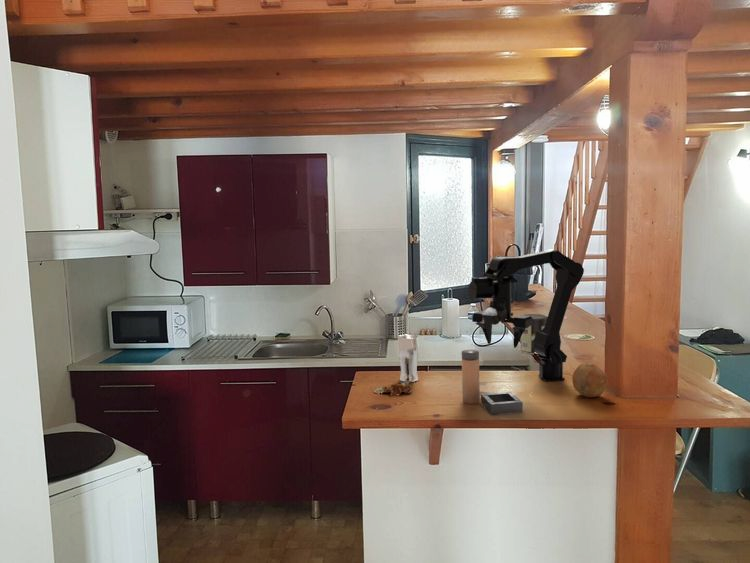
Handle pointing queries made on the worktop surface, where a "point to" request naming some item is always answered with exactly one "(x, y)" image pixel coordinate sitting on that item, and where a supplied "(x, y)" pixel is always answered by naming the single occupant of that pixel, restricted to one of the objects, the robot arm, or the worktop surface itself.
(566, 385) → the worktop surface
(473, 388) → the cylindrical peg
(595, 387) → the mottled tan ball
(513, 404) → the collar
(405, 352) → the beer glass
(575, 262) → the robot arm
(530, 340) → the coffee can
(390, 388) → the mottled brown lump
